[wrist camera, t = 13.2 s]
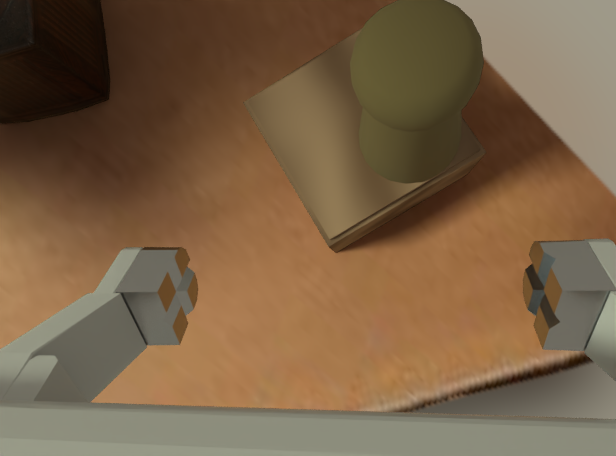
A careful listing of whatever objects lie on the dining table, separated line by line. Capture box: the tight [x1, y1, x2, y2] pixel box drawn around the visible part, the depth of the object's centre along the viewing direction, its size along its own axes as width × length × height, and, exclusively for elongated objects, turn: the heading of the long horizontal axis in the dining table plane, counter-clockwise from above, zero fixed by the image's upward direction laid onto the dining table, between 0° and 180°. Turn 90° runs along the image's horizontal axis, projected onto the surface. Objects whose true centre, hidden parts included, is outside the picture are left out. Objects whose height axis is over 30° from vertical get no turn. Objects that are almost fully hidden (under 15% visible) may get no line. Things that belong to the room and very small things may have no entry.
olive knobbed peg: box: [350, 0, 484, 184], centre depth 22 cm, size 6×6×11 cm
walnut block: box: [243, 29, 486, 253], centre depth 31 cm, size 11×11×6 cm
